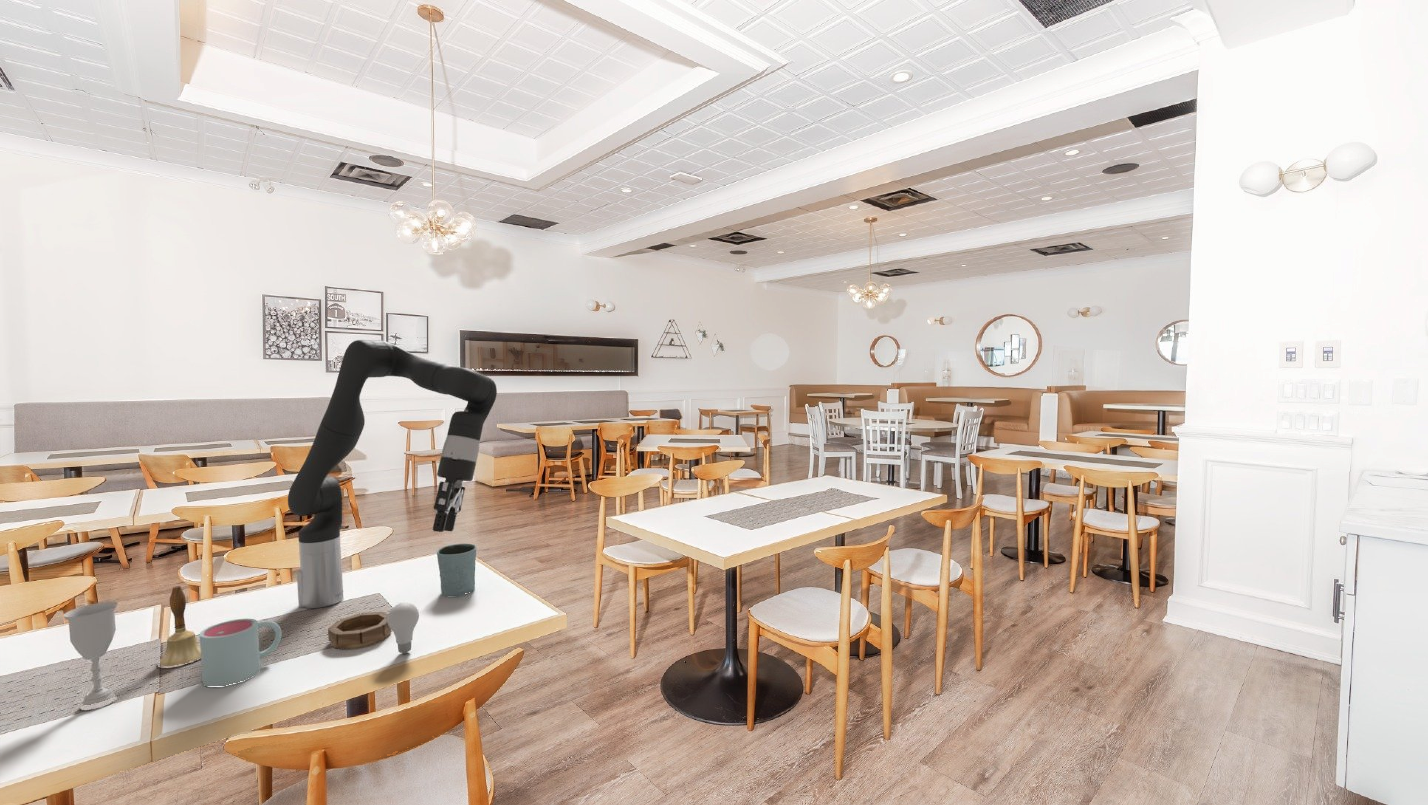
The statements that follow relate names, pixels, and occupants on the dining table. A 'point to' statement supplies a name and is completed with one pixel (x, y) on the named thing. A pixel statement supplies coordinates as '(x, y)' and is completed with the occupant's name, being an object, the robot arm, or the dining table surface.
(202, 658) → the mug
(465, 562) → the teal cylindrical pot
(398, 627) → the lightbulb
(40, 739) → the dining table surface
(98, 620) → the chalice
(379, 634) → the holder
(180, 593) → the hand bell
